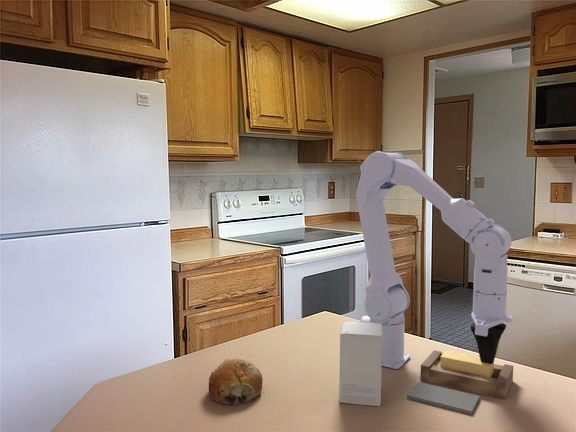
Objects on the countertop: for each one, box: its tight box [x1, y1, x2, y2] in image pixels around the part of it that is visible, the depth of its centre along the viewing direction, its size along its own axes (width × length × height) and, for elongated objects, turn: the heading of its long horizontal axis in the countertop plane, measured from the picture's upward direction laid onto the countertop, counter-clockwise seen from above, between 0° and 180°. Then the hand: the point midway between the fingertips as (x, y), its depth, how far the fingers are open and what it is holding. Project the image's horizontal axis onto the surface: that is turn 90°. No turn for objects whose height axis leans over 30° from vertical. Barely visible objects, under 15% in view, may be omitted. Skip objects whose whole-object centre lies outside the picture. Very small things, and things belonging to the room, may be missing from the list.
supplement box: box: [338, 321, 383, 407], centre depth 88 cm, size 7×7×13 cm
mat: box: [406, 381, 480, 416], centre depth 87 cm, size 11×6×1 cm, turn 58°
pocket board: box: [419, 350, 514, 400], centre depth 94 cm, size 15×9×3 cm, turn 58°
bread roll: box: [208, 358, 264, 406], centre depth 90 cm, size 10×10×8 cm
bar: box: [440, 349, 495, 377], centre depth 94 cm, size 9×4×2 cm, turn 58°
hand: (487, 361), depth 92 cm, fingers closed, pressing on bar
